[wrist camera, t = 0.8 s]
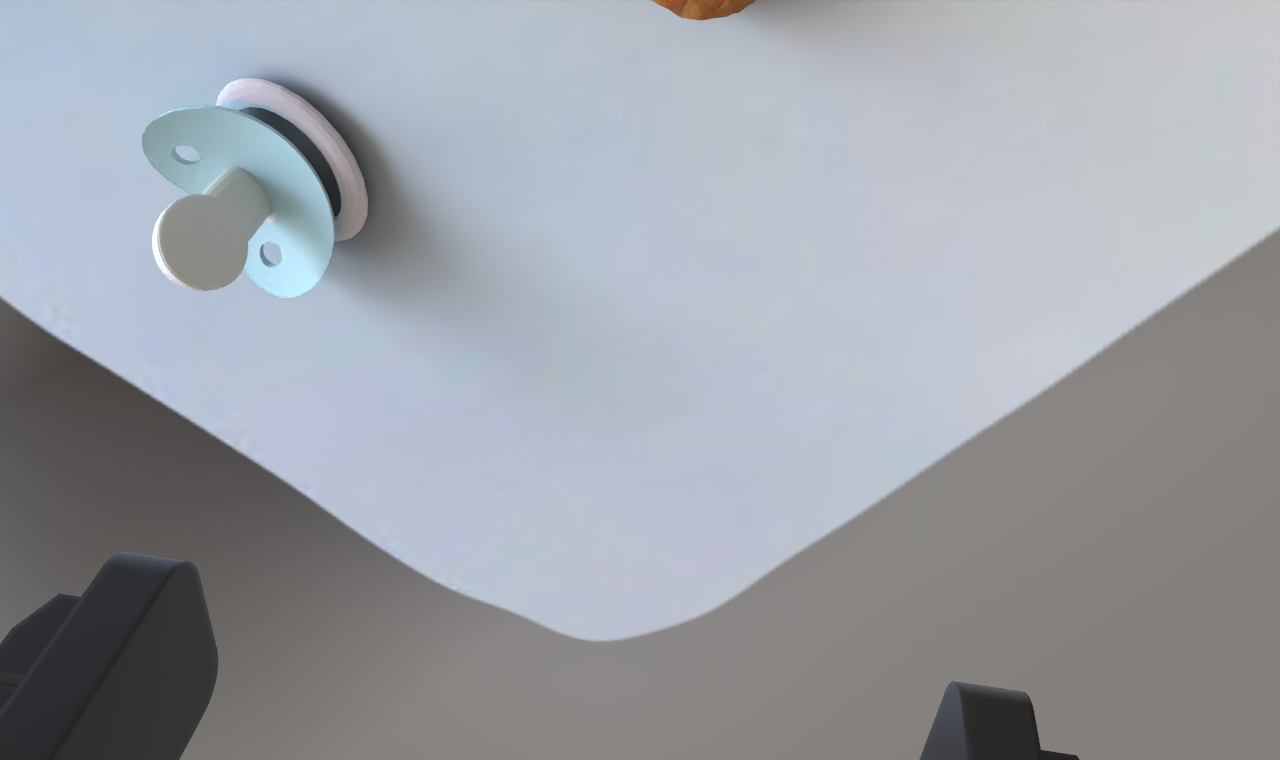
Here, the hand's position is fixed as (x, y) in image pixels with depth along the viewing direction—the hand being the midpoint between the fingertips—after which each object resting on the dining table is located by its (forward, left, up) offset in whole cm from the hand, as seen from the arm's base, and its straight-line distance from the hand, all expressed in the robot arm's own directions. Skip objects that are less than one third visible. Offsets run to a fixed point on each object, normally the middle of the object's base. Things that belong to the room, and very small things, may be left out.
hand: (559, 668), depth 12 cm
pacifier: (+5, -16, -26) cm, 31 cm away
